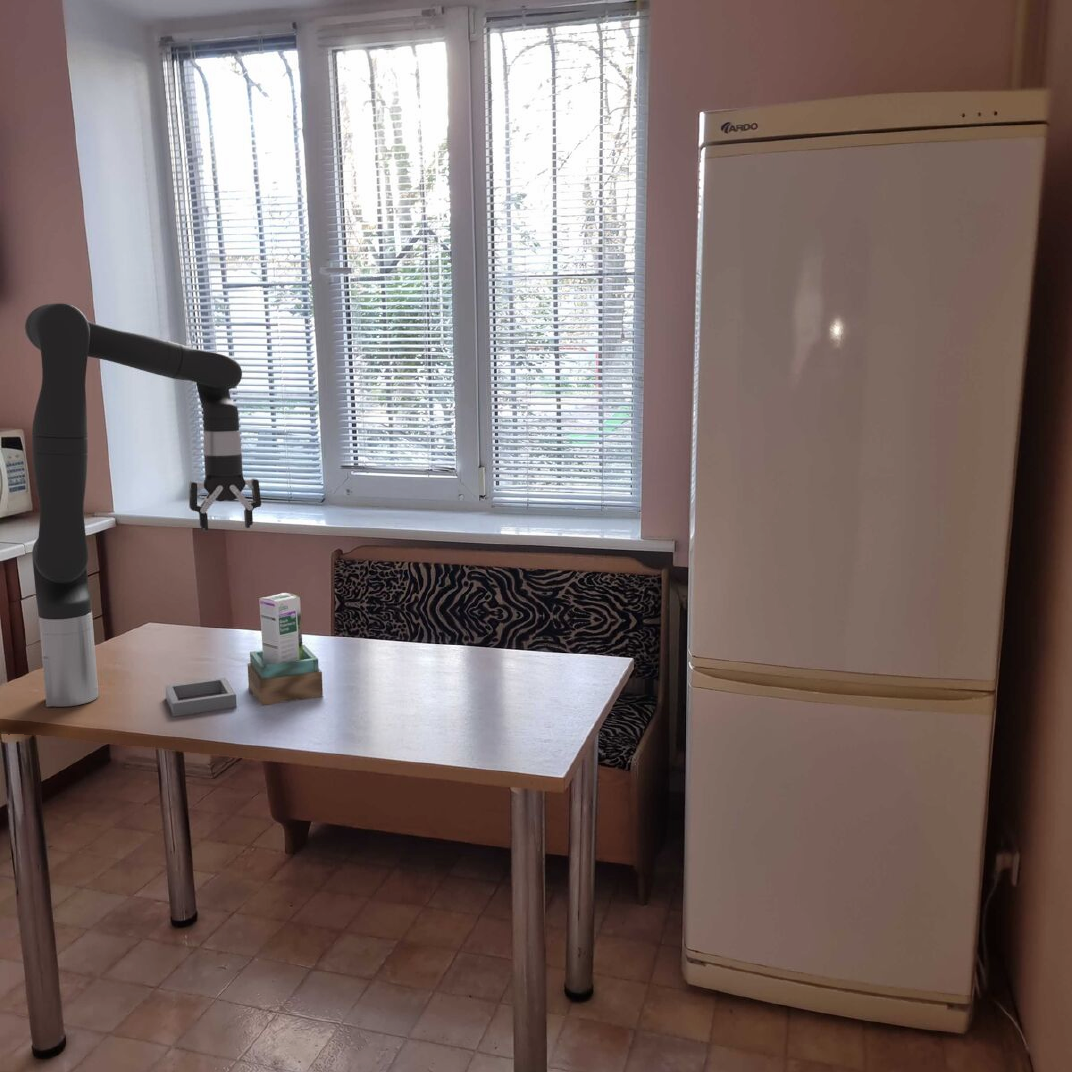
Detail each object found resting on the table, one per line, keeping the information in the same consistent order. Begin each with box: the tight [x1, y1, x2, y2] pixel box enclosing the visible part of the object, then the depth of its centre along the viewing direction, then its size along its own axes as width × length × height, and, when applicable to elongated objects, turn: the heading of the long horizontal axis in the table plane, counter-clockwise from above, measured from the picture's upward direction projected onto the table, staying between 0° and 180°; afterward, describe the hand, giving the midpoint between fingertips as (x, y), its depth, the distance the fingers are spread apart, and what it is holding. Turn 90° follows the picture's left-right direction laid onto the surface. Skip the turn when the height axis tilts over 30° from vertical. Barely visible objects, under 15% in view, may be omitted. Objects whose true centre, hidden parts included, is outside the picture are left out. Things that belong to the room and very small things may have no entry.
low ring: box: [164, 677, 238, 717], centre depth 186 cm, size 11×11×2 cm
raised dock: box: [247, 644, 324, 706], centre depth 192 cm, size 12×12×8 cm
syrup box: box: [258, 592, 303, 665], centre depth 191 cm, size 6×6×14 cm
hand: (226, 529), depth 204 cm, fingers open, 8 cm apart
